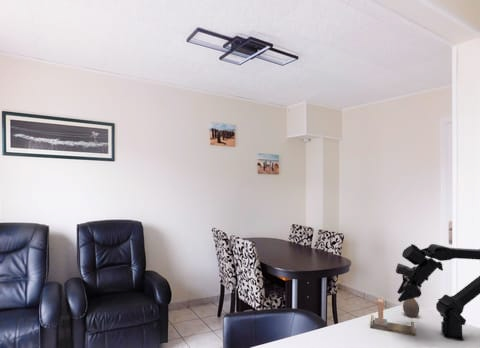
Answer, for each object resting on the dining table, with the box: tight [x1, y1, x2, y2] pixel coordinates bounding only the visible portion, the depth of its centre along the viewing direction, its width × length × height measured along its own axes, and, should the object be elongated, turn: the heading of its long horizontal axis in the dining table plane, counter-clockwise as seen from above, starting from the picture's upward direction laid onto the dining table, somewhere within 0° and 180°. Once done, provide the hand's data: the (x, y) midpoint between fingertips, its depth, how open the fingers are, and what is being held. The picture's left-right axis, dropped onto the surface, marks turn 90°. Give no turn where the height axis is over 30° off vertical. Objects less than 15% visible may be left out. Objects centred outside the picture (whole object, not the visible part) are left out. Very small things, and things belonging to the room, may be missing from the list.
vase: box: [402, 298, 420, 318], centre depth 153 cm, size 7×7×9 cm
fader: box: [374, 298, 388, 327], centre depth 141 cm, size 5×6×10 cm
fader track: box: [370, 314, 416, 337], centre depth 139 cm, size 17×7×3 cm, turn 66°
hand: (398, 296), depth 139 cm, fingers open, 9 cm apart
